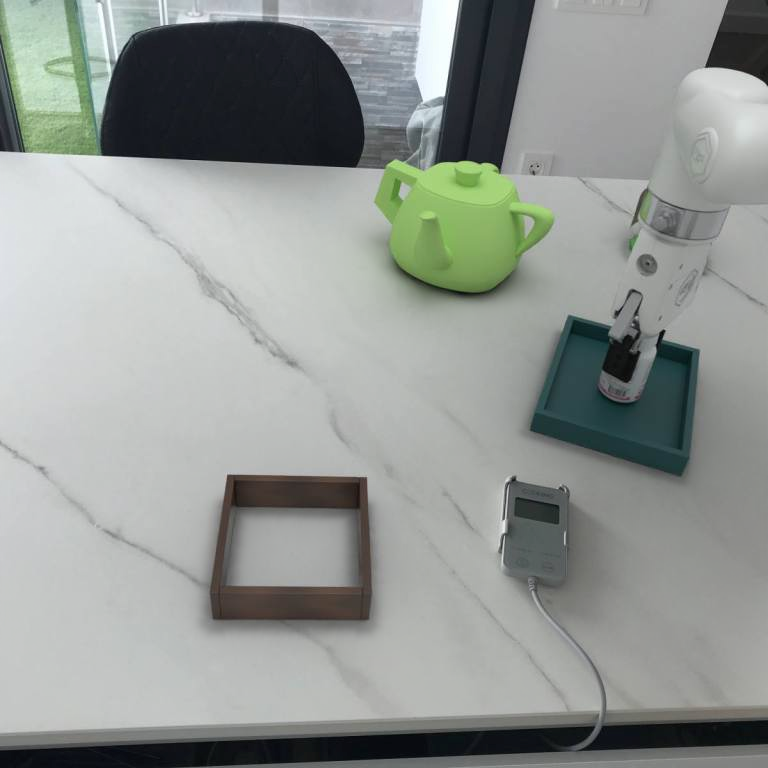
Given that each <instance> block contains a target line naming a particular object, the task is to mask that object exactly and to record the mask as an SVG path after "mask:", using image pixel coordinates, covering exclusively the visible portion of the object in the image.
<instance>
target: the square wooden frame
mask: <svg viewBox="0 0 768 768" xmlns="http://www.w3.org/2000/svg"><path fill="white" fill-rule="evenodd" d="M368 488H369V487H368V477H367V476H338V475H337V476H336V475H335V476H332V475H331V476H327V475H281V474H279V475H278V474H277V475H276V474H231V473H230V474H227V475H226V479H225V487H224V494H223V500H222V506H221V513H220V521H219V526H218V527H219V528H218V534H217V541H216V548H215V554H214V559H213V567H212V575H211V582H210V588H209V599H210V609H211V617H212V619H213V620H309V621H310V620H312V621H313V620H322V621H325V620H326V621H328V620H330V621H332V620H335V621H336V620H337V621H338V620H339V621H343V620H344V621H345V620H347V621H350V620H351V621H352V620H353V621H356V620H357V621H360V620H361V621H363V620H364V621H369V620H370V614H371V605H372V596H373V589H372V587H373V586H372V564H371V563H372V562H371V542H370V541H371V540H370V539H371V538H370V537H371V536H370V516H369V513H370V512H369V490H368ZM237 507H252V508H253V507H254V508H256V507H258V508H259V507H260V508H262V507H263V508H265V507H266V508H314V509H315V508H316V509H318V508H320V509H356V511H357V542H358V544H357V547H358V548H357V549H358V578H359V579H358V582H359V586H300V585H299V586H291V585H290V586H288V585H286V586H283V585H281V586H280V585H278V586H277V585H274V586H273V585H227V579H228V572H229V571H228V570H229V563H230V557H231V556H230V555H231V549H232V548H231V547H232V539H233V532H234V526H235V517H236V509H237Z"/></svg>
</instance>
